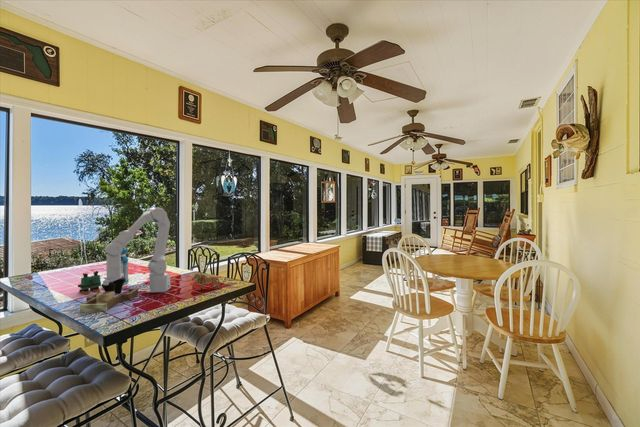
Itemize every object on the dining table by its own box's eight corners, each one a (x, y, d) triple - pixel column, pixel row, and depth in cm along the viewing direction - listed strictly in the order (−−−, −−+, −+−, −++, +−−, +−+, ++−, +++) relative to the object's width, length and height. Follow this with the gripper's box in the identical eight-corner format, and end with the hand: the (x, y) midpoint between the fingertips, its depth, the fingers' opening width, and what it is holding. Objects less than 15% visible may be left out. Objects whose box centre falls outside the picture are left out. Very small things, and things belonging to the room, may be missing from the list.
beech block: (114, 301, 136) (114, 291, 136) (109, 305, 131) (108, 294, 131) (102, 302, 135) (102, 291, 135) (96, 306, 131) (96, 295, 130)
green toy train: (94, 270, 158) (102, 270, 153) (95, 289, 158) (103, 290, 152) (73, 273, 150) (81, 273, 145) (74, 293, 150) (82, 295, 145)
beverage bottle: (131, 283, 168) (131, 248, 167) (115, 286, 161) (114, 250, 160) (124, 280, 172) (124, 247, 172) (108, 284, 165) (107, 249, 165)
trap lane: (140, 292, 151) (140, 286, 151) (113, 310, 125) (113, 303, 125) (106, 293, 148) (106, 287, 148) (72, 312, 123) (72, 305, 123)
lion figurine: (193, 291, 154) (193, 274, 154) (193, 288, 159) (193, 272, 158) (222, 288, 160) (222, 272, 159) (221, 285, 165) (221, 270, 164)
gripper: (113, 264, 147) (113, 291, 147) (95, 271, 132) (95, 301, 133) (128, 264, 148) (128, 291, 148) (112, 271, 133) (112, 300, 134)
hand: (114, 295), depth 141 cm, fingers open, 6 cm apart
